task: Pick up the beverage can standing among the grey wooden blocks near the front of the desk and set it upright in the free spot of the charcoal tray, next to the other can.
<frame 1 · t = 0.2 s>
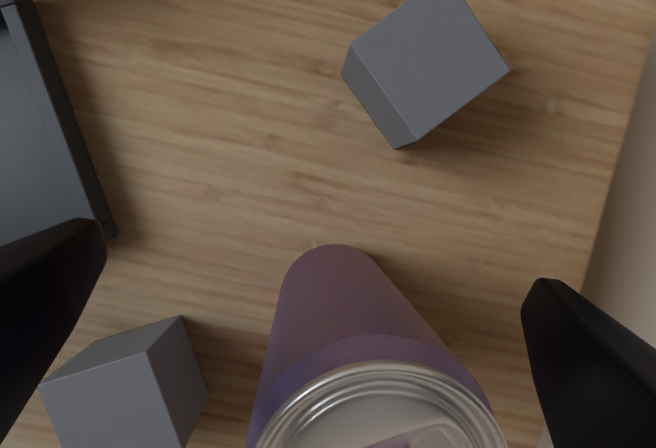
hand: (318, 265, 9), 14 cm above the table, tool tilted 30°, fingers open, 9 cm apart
beverage can: (333, 293, 24), on the table
grey block B: (403, 84, 22), on the table
grey block A: (152, 368, 23), on the table
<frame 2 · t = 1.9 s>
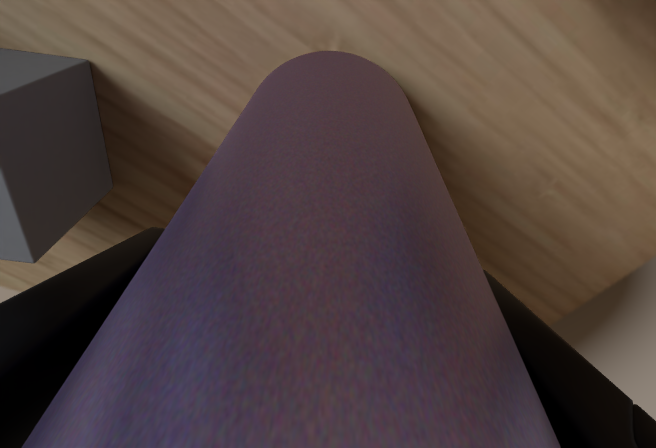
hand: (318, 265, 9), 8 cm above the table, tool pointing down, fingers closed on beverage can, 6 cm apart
beverage can: (330, 132, 15), on the table, touching gripper
grey block A: (35, 120, 15), on the table
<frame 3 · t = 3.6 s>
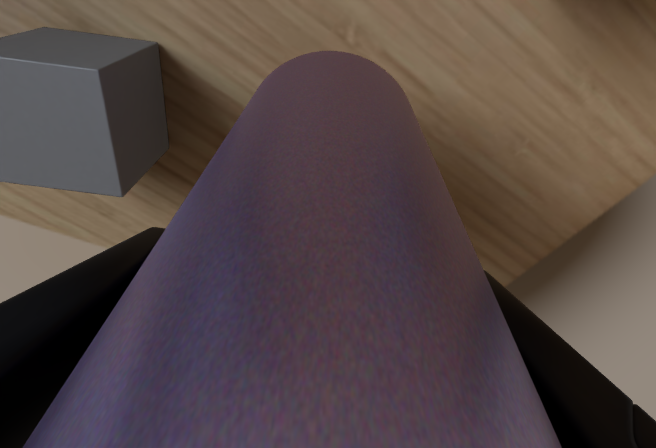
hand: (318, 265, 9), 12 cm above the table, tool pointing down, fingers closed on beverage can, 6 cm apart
beverage can: (330, 131, 15), point 4 cm above the table, touching gripper
grey block A: (111, 91, 19), on the table
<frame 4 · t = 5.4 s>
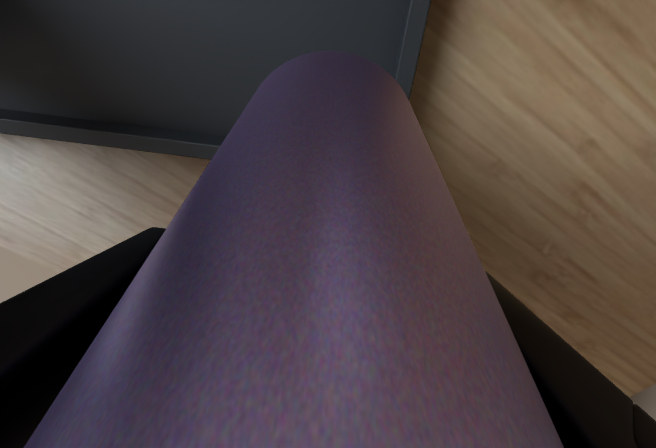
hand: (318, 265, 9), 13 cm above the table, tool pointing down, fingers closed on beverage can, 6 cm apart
beverage can: (330, 131, 15), point 5 cm above the table, touching gripper
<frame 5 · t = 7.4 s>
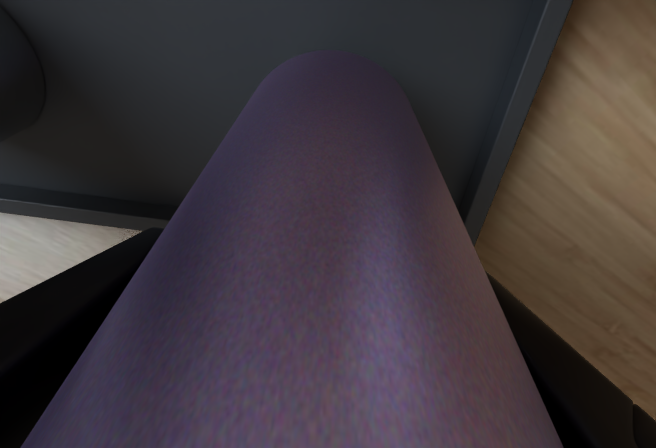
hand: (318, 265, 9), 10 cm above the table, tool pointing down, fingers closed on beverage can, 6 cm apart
beverage can: (330, 131, 15), point 2 cm above the table, touching gripper
tray: (163, 83, 16), on the table
when the fingers open (8 cm above the table, at t = 8.9 s): beverage can stays where it is, resting on tray.
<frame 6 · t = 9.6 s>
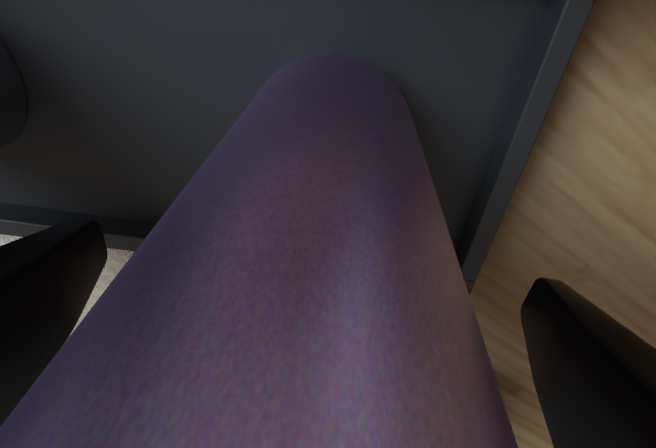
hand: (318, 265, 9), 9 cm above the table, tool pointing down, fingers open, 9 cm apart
beverage can: (331, 132, 16), resting on tray
tray: (153, 97, 16), on the table
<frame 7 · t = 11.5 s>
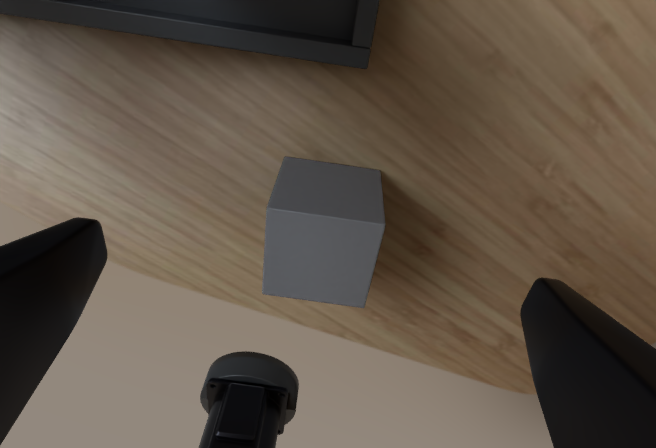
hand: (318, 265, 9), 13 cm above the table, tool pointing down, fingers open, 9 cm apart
grey block A: (326, 203, 23), on the table
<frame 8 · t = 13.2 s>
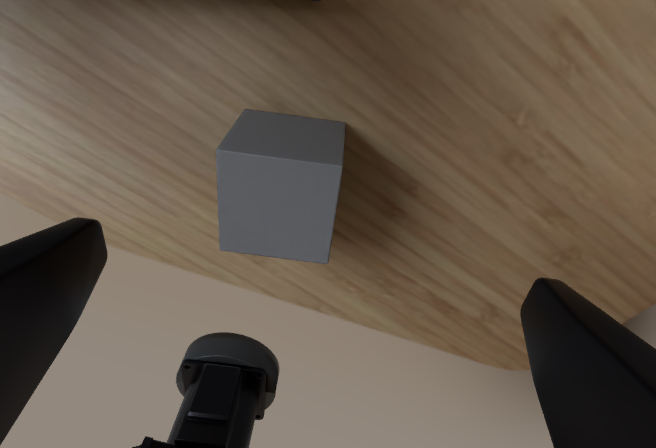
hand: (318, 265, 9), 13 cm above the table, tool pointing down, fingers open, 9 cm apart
grey block A: (291, 161, 22), on the table
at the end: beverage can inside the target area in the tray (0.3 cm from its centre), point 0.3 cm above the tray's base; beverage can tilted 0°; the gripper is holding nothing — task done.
